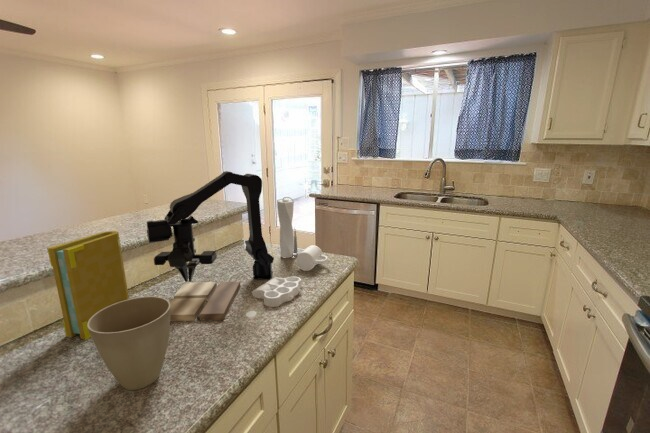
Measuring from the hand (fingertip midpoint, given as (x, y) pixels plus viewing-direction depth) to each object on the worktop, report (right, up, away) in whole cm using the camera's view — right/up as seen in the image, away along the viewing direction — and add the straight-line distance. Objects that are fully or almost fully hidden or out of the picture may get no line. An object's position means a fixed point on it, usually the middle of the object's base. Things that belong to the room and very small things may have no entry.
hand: (188, 281), depth 107 cm
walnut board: (+13, -6, -4) cm, 15 cm away
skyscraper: (+29, +4, +37) cm, 48 cm away
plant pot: (+6, -14, -38) cm, 41 cm away
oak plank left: (+3, -7, -10) cm, 13 cm away
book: (-18, -9, -15) cm, 25 cm away
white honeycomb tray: (+31, -5, +1) cm, 31 cm away
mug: (+42, +1, +24) cm, 49 cm away
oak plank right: (+2, -5, +1) cm, 5 cm away
